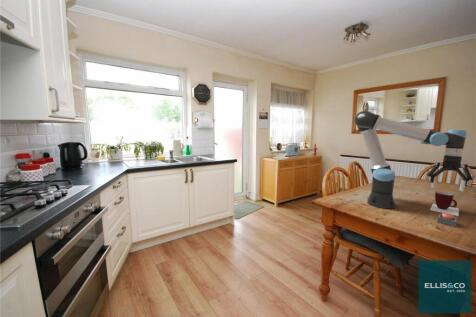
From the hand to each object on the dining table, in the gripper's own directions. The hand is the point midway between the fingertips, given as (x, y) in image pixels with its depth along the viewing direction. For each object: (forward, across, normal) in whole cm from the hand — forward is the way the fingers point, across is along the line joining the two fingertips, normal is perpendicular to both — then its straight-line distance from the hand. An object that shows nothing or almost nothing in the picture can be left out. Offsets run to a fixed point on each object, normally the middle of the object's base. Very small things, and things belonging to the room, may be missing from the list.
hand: (446, 189), depth 126 cm
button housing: (+13, -8, -24) cm, 29 cm away
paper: (+13, +1, 0) cm, 13 cm away
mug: (+13, +1, 0) cm, 13 cm away
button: (+11, -8, -24) cm, 28 cm away
